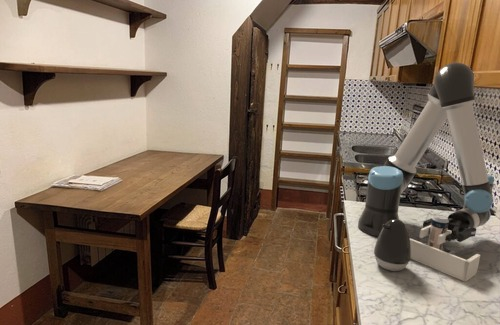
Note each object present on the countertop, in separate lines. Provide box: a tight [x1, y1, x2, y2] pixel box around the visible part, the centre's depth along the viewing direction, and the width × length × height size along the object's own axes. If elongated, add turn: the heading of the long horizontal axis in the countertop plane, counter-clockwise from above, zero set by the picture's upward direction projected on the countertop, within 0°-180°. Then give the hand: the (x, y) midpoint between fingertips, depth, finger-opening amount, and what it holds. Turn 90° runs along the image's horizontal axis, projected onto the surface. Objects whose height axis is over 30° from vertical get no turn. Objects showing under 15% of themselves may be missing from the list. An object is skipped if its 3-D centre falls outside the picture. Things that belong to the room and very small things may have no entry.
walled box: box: [409, 237, 481, 282], centre depth 113 cm, size 11×24×6 cm, turn 38°
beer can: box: [427, 214, 449, 251], centre depth 112 cm, size 5×5×12 cm
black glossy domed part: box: [373, 218, 411, 272], centre depth 106 cm, size 10×10×15 cm
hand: (430, 236), depth 109 cm, fingers closed on beer can, 5 cm apart
